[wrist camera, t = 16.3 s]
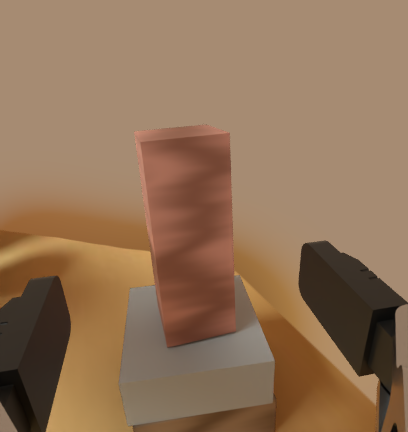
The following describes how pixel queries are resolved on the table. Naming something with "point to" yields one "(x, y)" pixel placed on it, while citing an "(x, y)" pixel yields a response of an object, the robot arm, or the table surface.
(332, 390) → the table surface
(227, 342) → the tower middle block
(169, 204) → the tall block
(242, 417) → the tower base
